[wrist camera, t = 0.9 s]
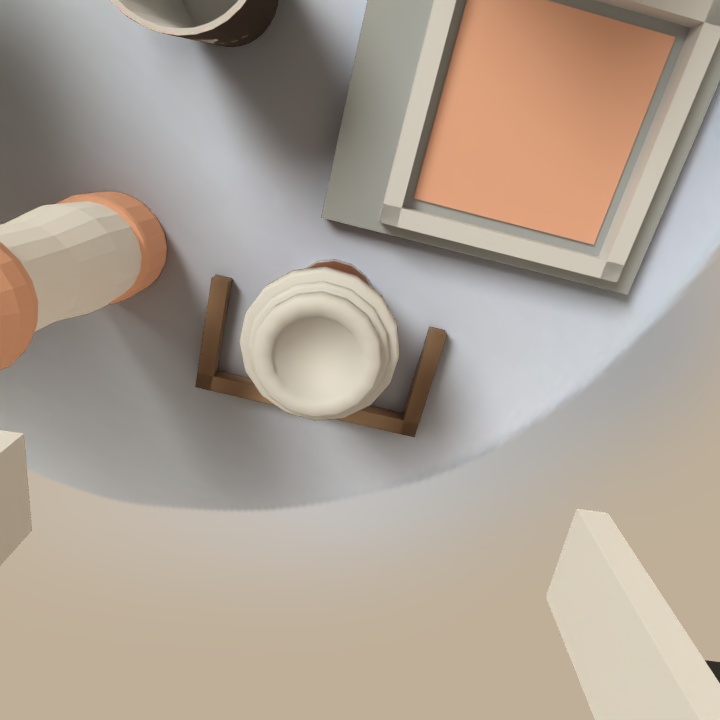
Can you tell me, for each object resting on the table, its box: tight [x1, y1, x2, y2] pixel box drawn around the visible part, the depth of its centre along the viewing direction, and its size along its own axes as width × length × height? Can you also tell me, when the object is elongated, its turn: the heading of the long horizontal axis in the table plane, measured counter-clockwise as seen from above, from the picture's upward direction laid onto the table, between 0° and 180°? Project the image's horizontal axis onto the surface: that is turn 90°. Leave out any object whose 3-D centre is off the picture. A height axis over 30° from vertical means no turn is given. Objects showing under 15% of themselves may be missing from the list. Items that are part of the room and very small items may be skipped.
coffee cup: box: [239, 259, 400, 420], centre depth 35 cm, size 9×9×12 cm
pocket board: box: [321, 0, 720, 295], centre depth 34 cm, size 22×18×3 cm
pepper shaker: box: [0, 191, 167, 370], centre depth 30 cm, size 7×7×19 cm
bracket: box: [195, 275, 447, 437], centre depth 41 cm, size 17×9×1 cm, turn 76°
